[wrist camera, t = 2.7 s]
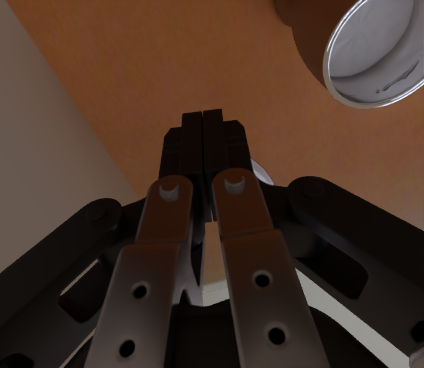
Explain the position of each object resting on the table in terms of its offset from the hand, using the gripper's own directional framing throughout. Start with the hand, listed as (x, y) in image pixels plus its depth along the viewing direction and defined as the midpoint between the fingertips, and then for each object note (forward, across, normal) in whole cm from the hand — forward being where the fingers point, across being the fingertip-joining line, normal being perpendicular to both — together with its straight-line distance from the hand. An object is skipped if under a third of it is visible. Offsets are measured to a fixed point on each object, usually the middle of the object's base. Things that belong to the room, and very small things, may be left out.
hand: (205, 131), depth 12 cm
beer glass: (+20, -10, 0) cm, 23 cm away
